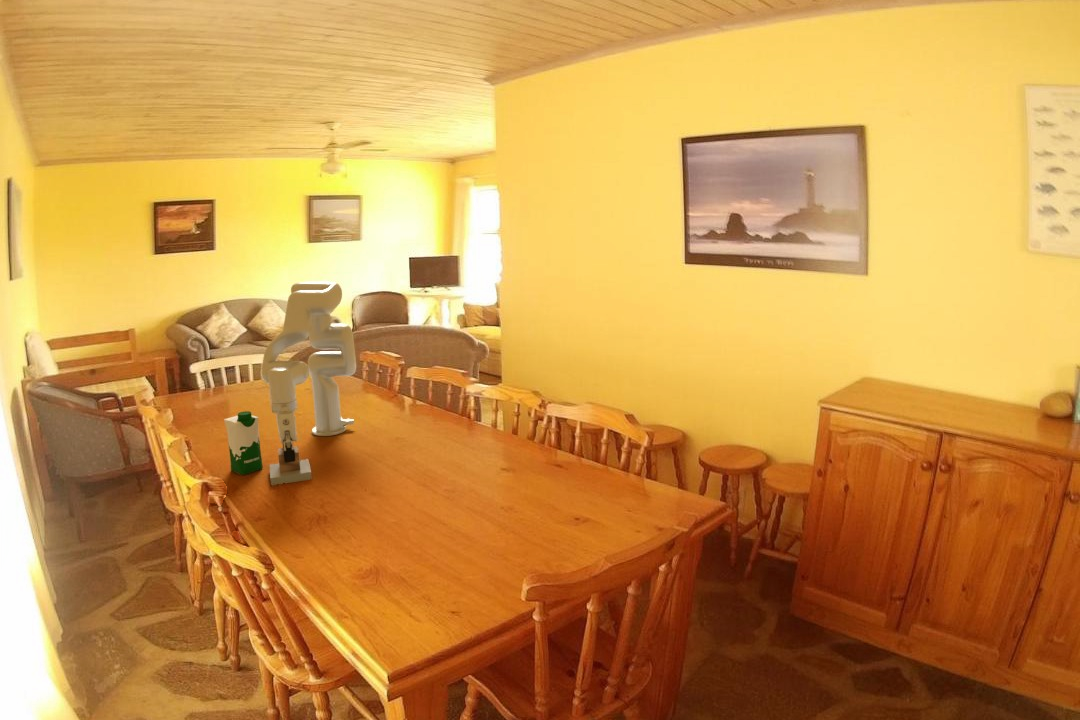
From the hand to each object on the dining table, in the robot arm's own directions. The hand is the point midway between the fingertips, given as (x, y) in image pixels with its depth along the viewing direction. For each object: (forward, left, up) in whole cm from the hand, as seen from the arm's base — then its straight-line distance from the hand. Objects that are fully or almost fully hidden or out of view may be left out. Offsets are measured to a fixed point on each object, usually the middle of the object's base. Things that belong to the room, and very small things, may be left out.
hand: (289, 456), depth 204 cm
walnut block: (0, 0, -4) cm, 4 cm away
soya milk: (+13, -11, -7) cm, 18 cm away
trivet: (0, 0, -7) cm, 6 cm away
